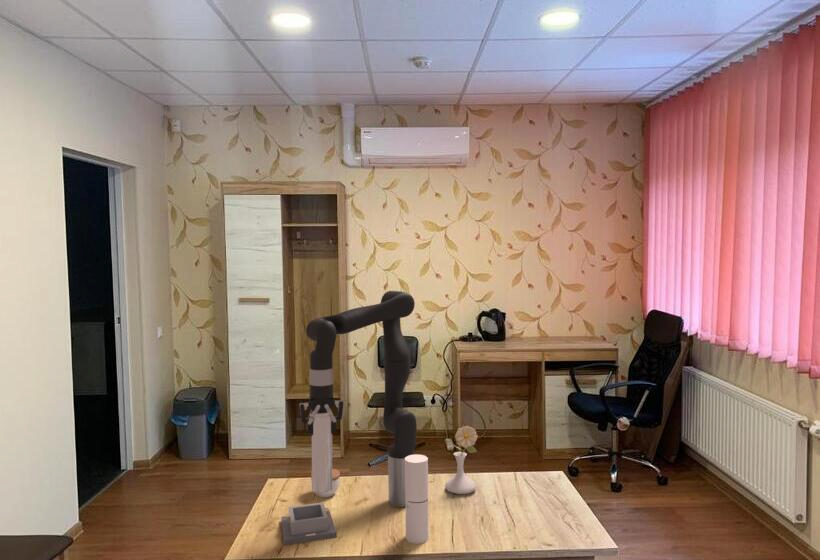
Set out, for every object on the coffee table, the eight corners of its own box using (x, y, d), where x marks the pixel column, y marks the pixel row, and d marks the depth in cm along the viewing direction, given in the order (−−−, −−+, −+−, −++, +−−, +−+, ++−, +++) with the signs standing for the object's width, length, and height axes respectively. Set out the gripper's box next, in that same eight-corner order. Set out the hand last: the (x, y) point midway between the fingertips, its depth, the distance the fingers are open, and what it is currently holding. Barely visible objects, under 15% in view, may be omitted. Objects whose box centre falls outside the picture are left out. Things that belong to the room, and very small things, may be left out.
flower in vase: (439, 492, 208) (438, 425, 207) (455, 482, 217) (454, 418, 216) (470, 500, 201) (469, 431, 200) (485, 489, 210) (484, 423, 209)
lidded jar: (318, 503, 201) (317, 477, 200) (306, 492, 210) (306, 467, 209) (345, 495, 206) (344, 470, 206) (332, 485, 215) (332, 461, 215)
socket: (329, 514, 191) (329, 498, 191) (336, 536, 176) (336, 519, 176) (281, 521, 187) (281, 505, 187) (284, 544, 172) (284, 527, 171)
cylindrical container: (421, 545, 170) (420, 464, 169) (401, 539, 174) (400, 460, 173) (433, 535, 176) (432, 457, 175) (413, 529, 180) (412, 453, 179)
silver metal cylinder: (328, 493, 176) (328, 414, 175) (308, 492, 177) (308, 413, 177) (335, 485, 183) (334, 409, 182) (316, 484, 184) (315, 408, 183)
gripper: (341, 378, 185) (341, 429, 185) (297, 381, 180) (297, 432, 181) (345, 383, 177) (346, 435, 178) (299, 386, 173) (300, 440, 174)
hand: (321, 434), depth 179 cm, fingers closed on silver metal cylinder, 6 cm apart
